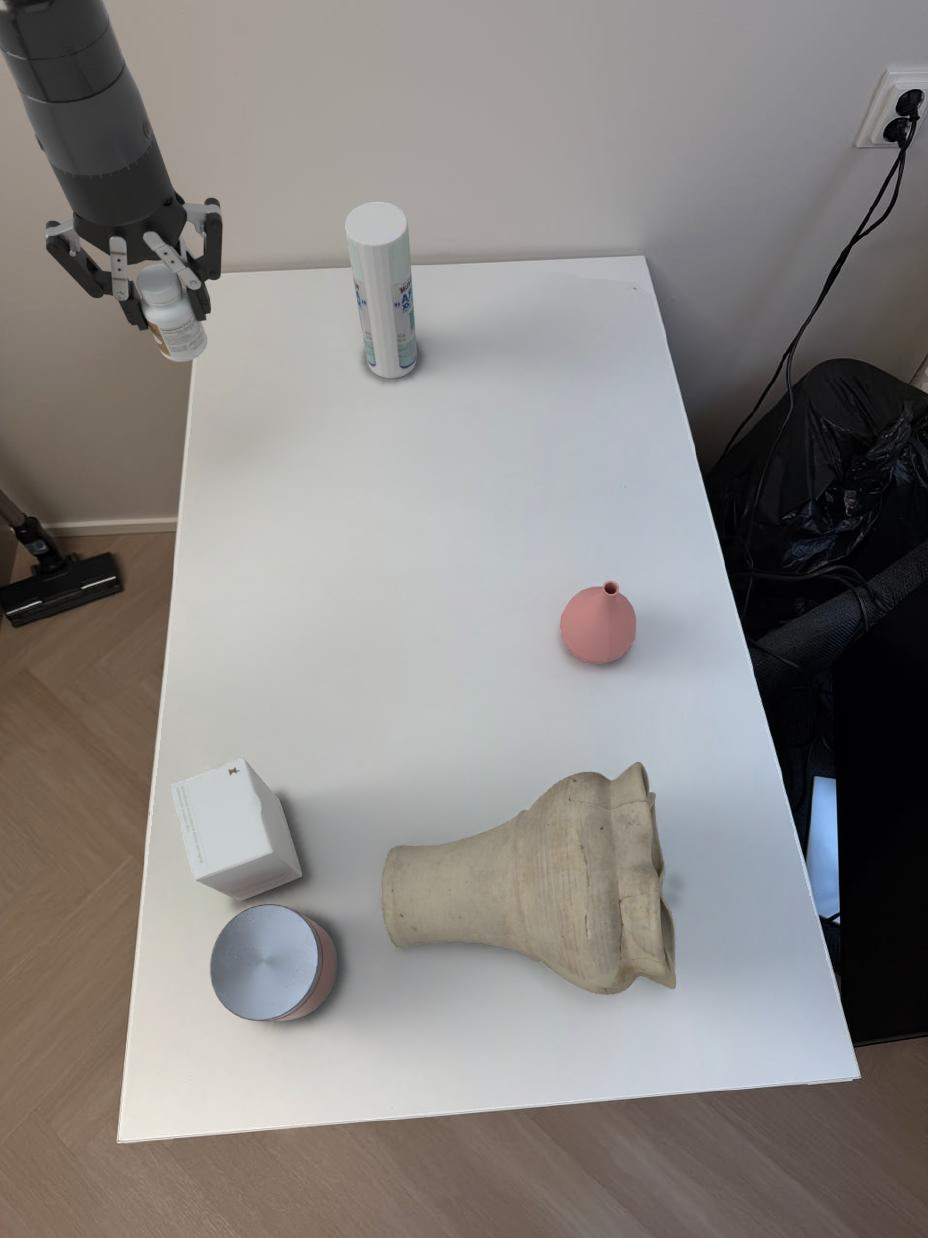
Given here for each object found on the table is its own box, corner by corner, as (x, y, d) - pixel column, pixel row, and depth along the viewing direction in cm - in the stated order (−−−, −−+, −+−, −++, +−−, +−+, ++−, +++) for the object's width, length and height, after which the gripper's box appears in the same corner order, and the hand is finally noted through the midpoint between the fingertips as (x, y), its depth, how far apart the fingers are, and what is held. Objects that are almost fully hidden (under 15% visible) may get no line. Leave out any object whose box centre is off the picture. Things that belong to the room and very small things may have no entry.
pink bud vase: (611, 598, 90) (631, 542, 80) (642, 660, 87) (667, 610, 76) (545, 620, 89) (556, 566, 78) (573, 684, 86) (588, 637, 75)
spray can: (370, 337, 106) (349, 198, 88) (421, 341, 106) (411, 202, 88) (362, 377, 103) (339, 242, 85) (415, 381, 103) (403, 247, 85)
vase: (298, 1045, 61) (696, 1038, 55) (295, 745, 67) (655, 709, 61) (394, 993, 81) (692, 984, 75) (385, 767, 87) (661, 742, 81)
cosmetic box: (217, 820, 80) (164, 780, 66) (284, 795, 81) (245, 751, 67) (239, 906, 77) (188, 883, 63) (308, 879, 78) (274, 850, 64)
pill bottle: (157, 332, 78) (127, 264, 71) (204, 322, 78) (179, 254, 71) (163, 367, 76) (132, 301, 69) (211, 357, 76) (186, 291, 69)
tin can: (248, 1030, 73) (213, 1033, 63) (238, 928, 76) (204, 916, 66) (345, 1008, 74) (326, 1007, 64) (331, 908, 77) (311, 892, 67)
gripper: (195, 87, 61) (249, 276, 76) (-8, 114, 60) (89, 300, 75) (204, 155, 58) (258, 337, 73) (-10, 185, 56) (91, 364, 72)
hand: (172, 317), depth 74 cm, fingers closed on pill bottle, 4 cm apart
